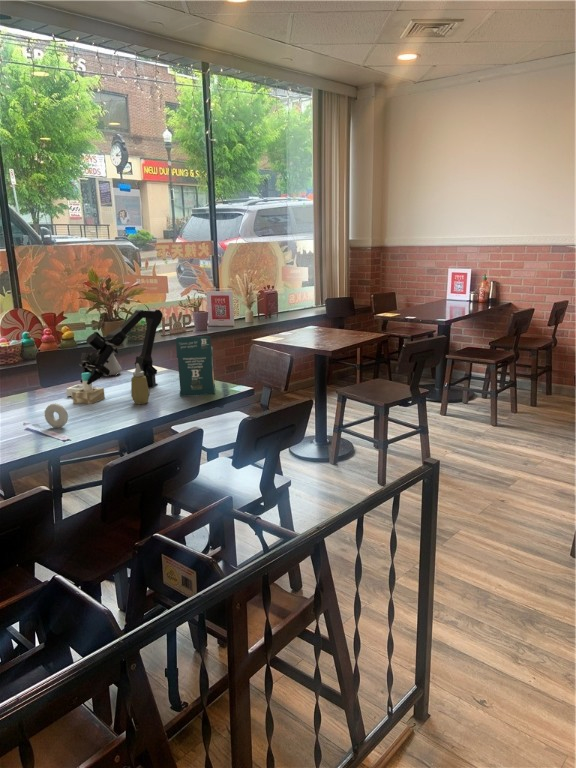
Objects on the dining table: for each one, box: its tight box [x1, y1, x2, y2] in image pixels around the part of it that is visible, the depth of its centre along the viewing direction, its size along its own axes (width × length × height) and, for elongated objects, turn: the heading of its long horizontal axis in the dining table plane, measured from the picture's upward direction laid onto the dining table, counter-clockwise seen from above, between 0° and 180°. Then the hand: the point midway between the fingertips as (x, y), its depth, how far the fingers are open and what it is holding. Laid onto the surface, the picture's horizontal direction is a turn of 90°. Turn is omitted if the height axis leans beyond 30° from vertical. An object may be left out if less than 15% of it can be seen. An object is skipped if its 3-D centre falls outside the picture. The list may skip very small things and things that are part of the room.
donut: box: [44, 403, 69, 429], centre depth 222 cm, size 10×4×10 cm, turn 74°
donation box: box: [175, 335, 216, 397], centre depth 269 cm, size 16×16×28 cm
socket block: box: [72, 386, 106, 405], centre depth 261 cm, size 10×10×5 cm
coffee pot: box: [103, 353, 122, 377], centre depth 308 cm, size 21×12×15 cm, turn 170°
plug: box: [81, 372, 93, 392], centre depth 260 cm, size 4×4×13 cm
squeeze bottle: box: [130, 364, 150, 405], centre depth 253 cm, size 8×8×18 cm
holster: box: [65, 384, 83, 398], centre depth 272 cm, size 8×8×4 cm
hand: (84, 383), depth 259 cm, fingers open, 6 cm apart
